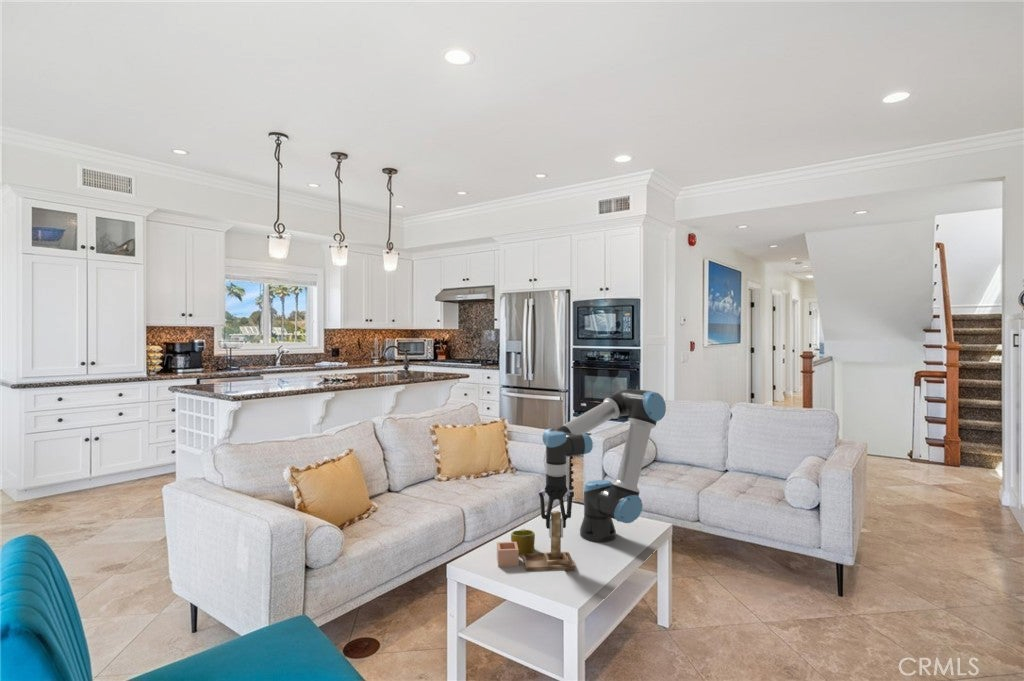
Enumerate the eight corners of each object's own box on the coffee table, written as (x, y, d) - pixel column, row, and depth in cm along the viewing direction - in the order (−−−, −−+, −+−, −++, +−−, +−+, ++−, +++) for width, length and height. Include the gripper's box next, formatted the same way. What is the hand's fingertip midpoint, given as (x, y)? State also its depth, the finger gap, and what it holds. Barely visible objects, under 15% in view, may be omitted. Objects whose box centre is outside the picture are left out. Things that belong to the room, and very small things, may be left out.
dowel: (559, 553, 203) (559, 510, 202) (561, 557, 199) (561, 514, 199) (550, 553, 202) (550, 511, 202) (551, 557, 199) (552, 514, 198)
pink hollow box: (516, 559, 205) (516, 541, 205) (518, 568, 198) (518, 549, 197) (496, 560, 204) (496, 542, 204) (498, 569, 197) (498, 550, 197)
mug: (536, 555, 205) (529, 528, 207) (511, 561, 207) (505, 535, 209) (543, 549, 216) (536, 523, 219) (519, 555, 218) (513, 529, 221)
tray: (568, 557, 207) (568, 549, 207) (575, 571, 195) (575, 562, 195) (522, 559, 206) (522, 551, 205) (526, 573, 194) (526, 564, 194)
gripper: (575, 470, 205) (575, 532, 205) (532, 471, 203) (532, 533, 203) (580, 476, 197) (579, 539, 198) (535, 477, 196) (535, 541, 196)
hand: (555, 536), depth 200 cm, fingers closed on dowel, 3 cm apart
